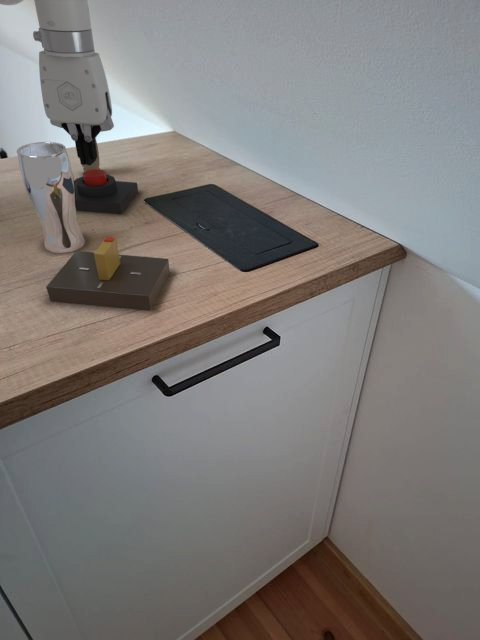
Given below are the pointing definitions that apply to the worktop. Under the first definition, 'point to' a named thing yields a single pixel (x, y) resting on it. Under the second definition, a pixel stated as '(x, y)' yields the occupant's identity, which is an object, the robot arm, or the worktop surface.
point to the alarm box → (105, 196)
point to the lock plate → (110, 282)
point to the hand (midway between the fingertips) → (88, 162)
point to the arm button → (94, 177)
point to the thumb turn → (107, 258)
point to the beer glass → (52, 193)
